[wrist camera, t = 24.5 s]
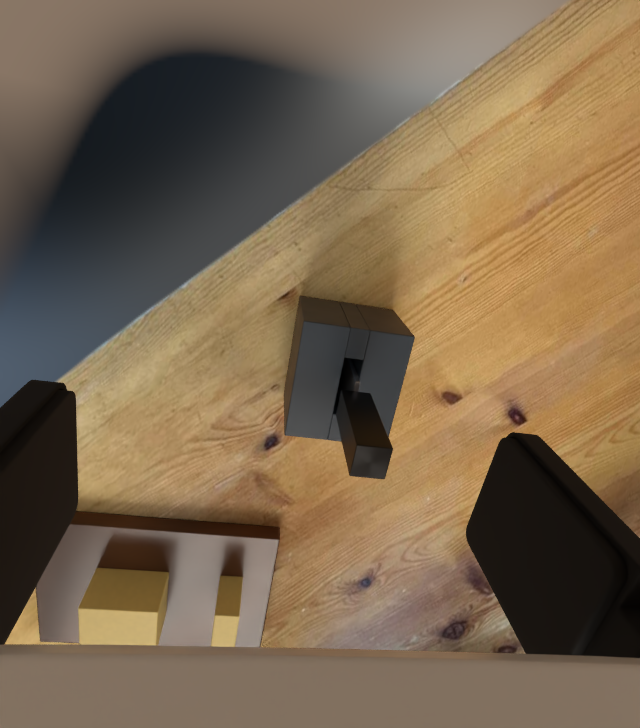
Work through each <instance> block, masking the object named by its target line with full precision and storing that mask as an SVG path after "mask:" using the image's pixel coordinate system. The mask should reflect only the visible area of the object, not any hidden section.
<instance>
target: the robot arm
mask: <svg viewBox="0 0 640 728" xmlns="http://www.w3.org/2000/svg"><path fill="white" fill-rule="evenodd" d="M77 505H78V469H77V427H76V396H75V393H74V392H73V391H67V389H66V386H65V384H64V383H57V382H48V381H39V380H31V381H29V382H28V383H27V384H26V385H24V387H22V388H21V389H20V390H19V391H18V392H17V393H16V394H15V395H14V396H13V397H11V398H10V399H9V400H8V401H7V402H6V403H5V404H4V405H3V406H2V407H1V408H0V728H640V538H639V537H638V536H637V535H636V534H635V533H634V532H633V531H632V530H631V529H630V528H629V527H628V526H627V525H626V524H625V523H624V522H623V521H622V520H621V519H620V518H619V517H618V516H617V515H616V514H615V513H614V512H613V511H612V510H611V509H610V508H609V507H608V506H607V505H606V504H605V503H604V502H603V501H602V500H601V499H600V498H599V497H598V496H597V495H596V494H595V493H594V492H593V491H592V490H591V489H590V488H589V487H588V485H587V484H586V483H585V482H584V481H583V480H582V479H581V478H580V477H579V476H578V475H577V474H576V473H575V472H574V471H573V470H572V469H571V468H570V467H569V466H568V465H567V464H566V463H565V462H564V461H563V460H562V459H561V458H560V457H559V456H558V455H557V454H556V453H555V452H554V451H553V450H552V449H551V448H550V447H549V446H548V445H547V444H546V443H545V442H544V441H543V440H542V439H541V438H540V437H539V436H537V435H532V434H523V433H514V432H513V433H510V434H509V435H508V436H507V437H506V438H502V439H501V440H500V442H499V444H498V447H497V449H496V452H495V455H494V457H493V460H492V463H491V465H490V468H489V470H488V473H487V476H486V478H485V481H484V483H483V486H482V489H481V491H480V494H479V496H478V499H477V502H476V504H475V507H474V509H473V512H472V515H471V517H470V520H469V522H468V525H467V529H466V537H467V541H468V544H469V546H470V548H471V550H472V552H473V553H474V555H475V557H476V559H477V561H478V563H479V565H480V567H481V569H482V571H483V573H484V575H485V576H486V578H487V580H488V582H489V584H490V586H491V588H492V590H493V592H494V594H495V596H496V597H497V599H498V601H499V603H500V605H501V607H502V609H503V611H504V613H505V615H506V617H507V618H508V620H509V622H510V624H511V626H512V628H513V630H514V632H515V634H516V636H517V638H518V640H519V641H520V643H521V645H522V647H523V649H524V651H525V653H526V654H512V653H479V652H442V651H402V650H360V649H316V648H270V647H214V646H157V645H4V644H5V642H6V640H7V638H8V637H9V635H10V633H11V631H12V629H13V627H14V626H15V624H16V622H17V620H18V618H19V616H20V615H21V613H22V611H23V609H24V607H25V605H26V604H27V602H28V600H29V598H30V596H31V594H32V593H33V591H34V589H35V587H36V585H37V583H38V582H39V580H40V578H41V576H42V574H43V572H44V571H45V569H46V567H47V565H48V563H49V561H50V560H51V558H52V556H53V554H54V552H55V550H56V549H57V547H58V545H59V543H60V541H61V539H62V538H63V536H64V534H65V532H66V530H67V528H68V527H69V525H70V523H71V521H72V519H73V517H74V515H75V512H76V509H77Z"/></svg>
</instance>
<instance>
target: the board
mask: <svg viewBox="0 0 640 728" xmlns="http://www.w3.org/2000/svg"><path fill="white" fill-rule="evenodd" d="M279 540H280V528H279V527H268V526H255V525H242V524H230V523H217V522H204V521H191V520H179V519H166V518H153V517H140V516H128V515H115V514H102V513H90V512H77V511H76V512H75V515H74V517H73V519H72V521H71V523H70V525H69V527H68V528H67V530H66V532H65V534H64V536H63V538H62V539H61V541H60V543H59V545H58V547H57V549H56V550H55V552H54V554H53V556H52V558H51V560H50V561H49V563H48V565H47V567H46V569H45V571H44V572H43V574H42V576H41V578H40V580H39V582H38V583H37V585H36V594H37V607H38V620H39V633H40V641H41V642H64V643H79V618H78V607H79V605H80V603H81V601H82V599H83V597H84V594H85V592H86V590H87V588H88V586H89V583H90V581H91V579H92V577H93V575H94V573H95V570H96V568H110V569H126V570H142V571H157V572H169V580H168V595H167V610H166V616H165V620H164V624H163V628H162V632H161V636H160V640H159V644H158V646H211V639H212V631H213V623H214V615H215V608H216V601H217V594H218V588H219V581H220V576H236V577H243V583H242V595H241V606H240V617H239V623H238V630H237V636H236V643H235V647H260V645H261V640H262V634H263V629H264V623H265V618H266V612H267V606H268V601H269V595H270V590H271V584H272V579H273V573H274V567H275V562H276V556H277V551H278V545H279Z"/></svg>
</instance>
